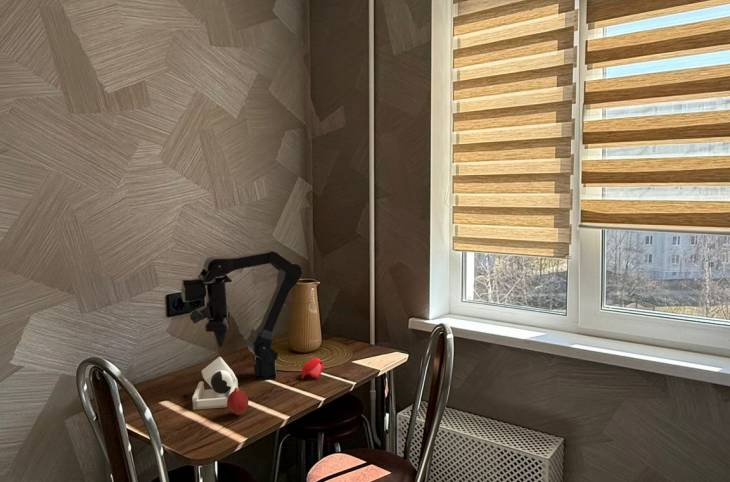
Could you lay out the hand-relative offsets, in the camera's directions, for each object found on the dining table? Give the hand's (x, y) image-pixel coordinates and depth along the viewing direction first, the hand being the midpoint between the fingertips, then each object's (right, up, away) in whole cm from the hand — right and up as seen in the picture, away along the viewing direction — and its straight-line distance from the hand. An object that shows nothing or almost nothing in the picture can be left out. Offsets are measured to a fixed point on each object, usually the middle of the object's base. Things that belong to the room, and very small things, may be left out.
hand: (220, 345), depth 181 cm
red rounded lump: (+10, -15, -22) cm, 29 cm away
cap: (+28, -12, +6) cm, 31 cm away
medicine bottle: (0, -8, -2) cm, 8 cm away
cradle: (+1, -14, -10) cm, 17 cm away
